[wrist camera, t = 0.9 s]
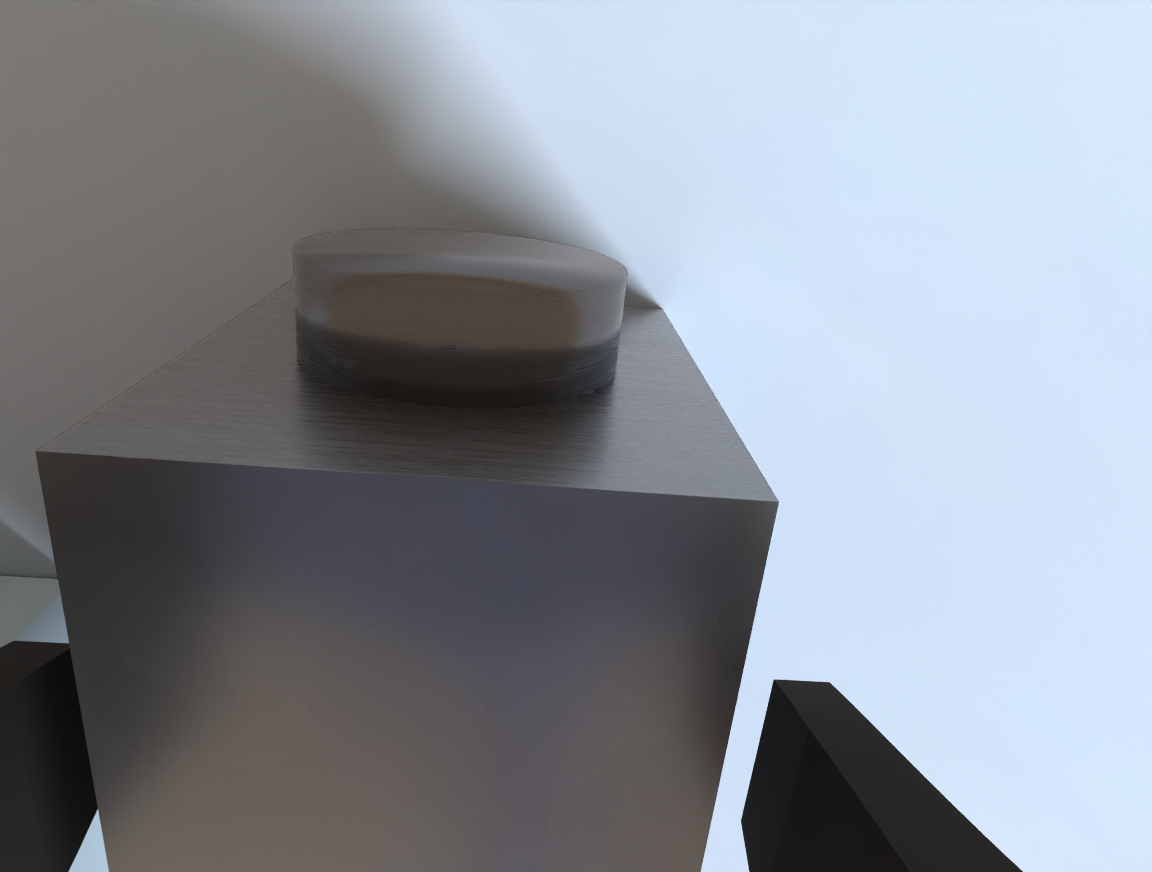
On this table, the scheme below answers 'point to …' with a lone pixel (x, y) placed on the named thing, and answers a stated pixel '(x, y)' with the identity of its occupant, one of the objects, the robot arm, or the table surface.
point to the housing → (412, 574)
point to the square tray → (38, 616)
